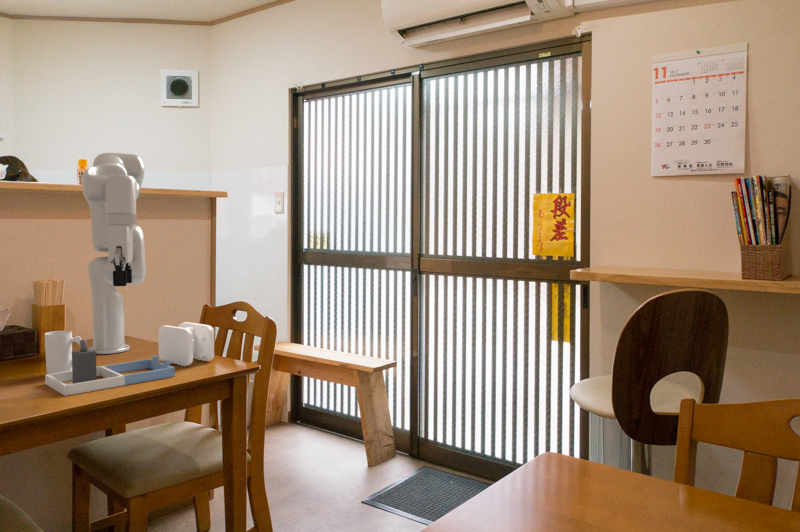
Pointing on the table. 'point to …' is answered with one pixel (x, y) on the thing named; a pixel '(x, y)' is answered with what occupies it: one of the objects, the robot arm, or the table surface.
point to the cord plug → (83, 364)
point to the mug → (59, 351)
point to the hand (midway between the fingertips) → (122, 284)
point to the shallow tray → (112, 376)
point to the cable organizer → (186, 343)
